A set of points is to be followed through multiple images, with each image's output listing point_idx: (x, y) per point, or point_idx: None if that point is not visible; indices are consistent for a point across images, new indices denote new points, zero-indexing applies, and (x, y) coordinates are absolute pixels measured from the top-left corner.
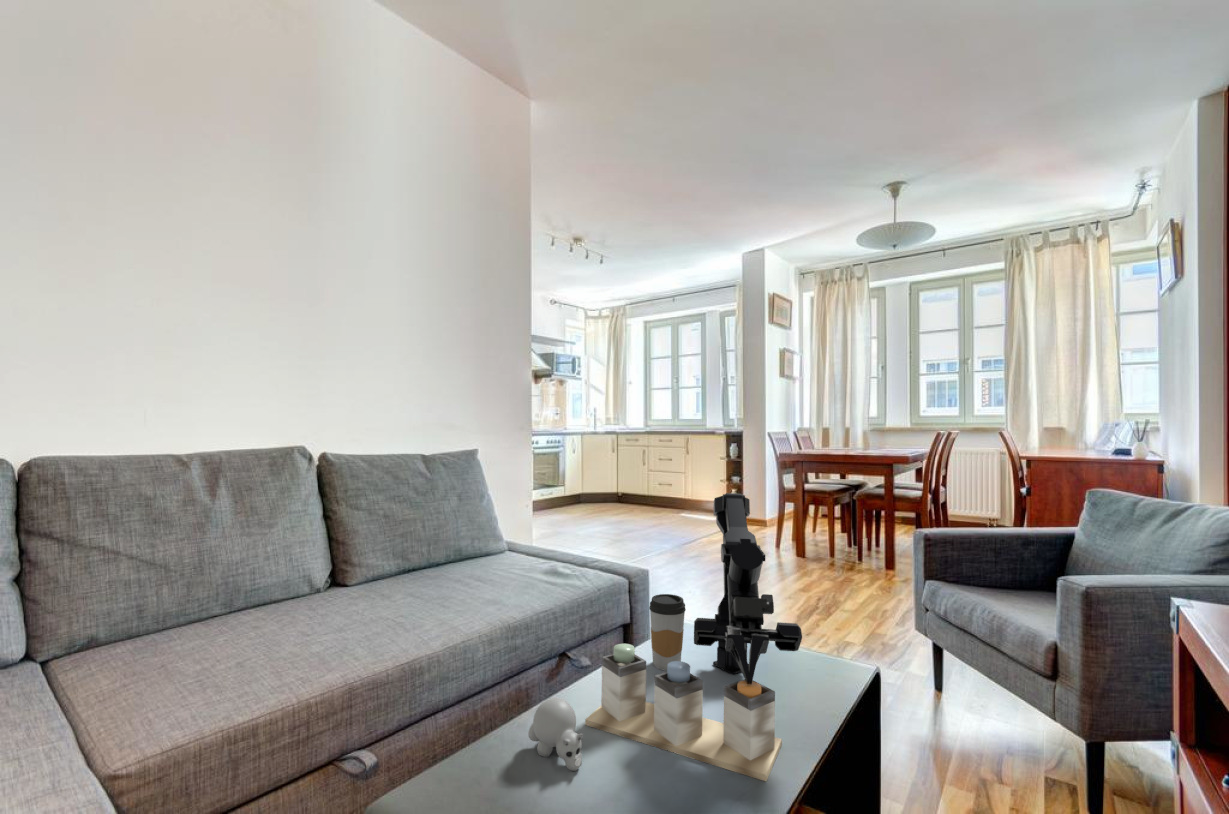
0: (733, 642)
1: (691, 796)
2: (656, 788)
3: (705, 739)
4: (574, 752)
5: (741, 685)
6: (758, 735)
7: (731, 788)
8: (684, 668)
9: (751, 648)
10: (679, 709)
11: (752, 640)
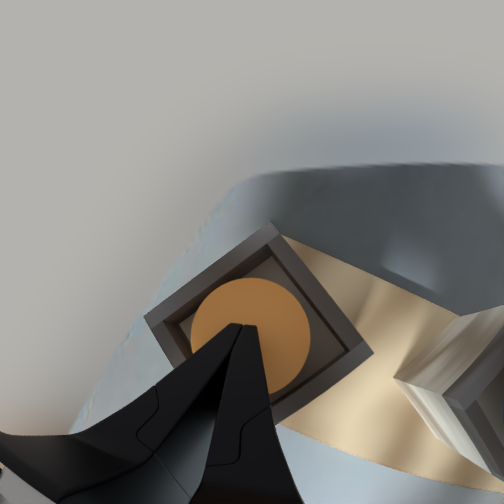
0: None
1: (413, 179)
2: (469, 198)
3: (386, 360)
4: None
5: (288, 342)
6: None
7: (340, 205)
8: None
9: (141, 460)
10: (495, 313)
11: (87, 480)
